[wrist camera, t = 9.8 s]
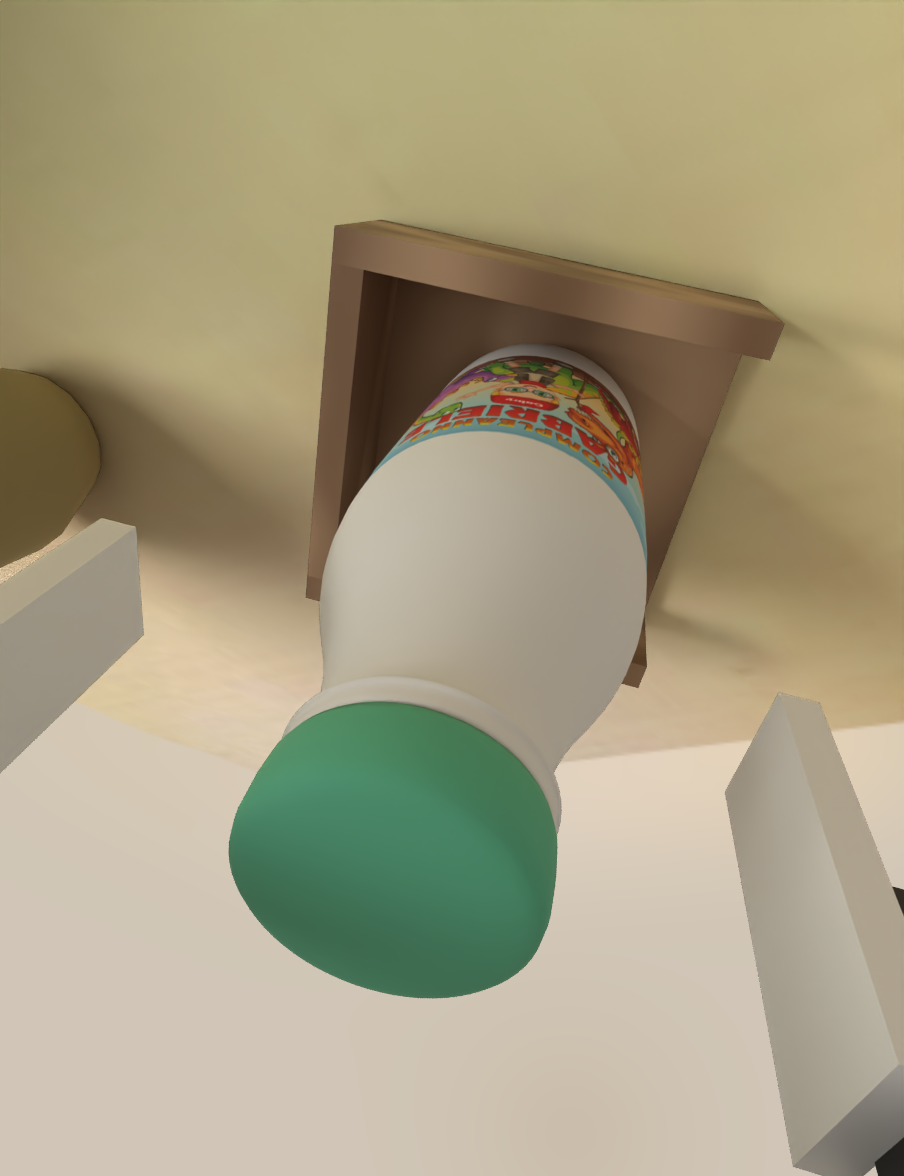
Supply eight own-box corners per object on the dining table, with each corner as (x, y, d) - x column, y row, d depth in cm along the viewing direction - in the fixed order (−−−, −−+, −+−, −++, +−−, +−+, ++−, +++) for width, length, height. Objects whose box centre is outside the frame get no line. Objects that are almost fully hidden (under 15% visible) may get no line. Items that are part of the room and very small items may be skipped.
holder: (346, 546, 31) (305, 597, 27) (381, 219, 24) (334, 225, 21) (636, 622, 30) (638, 687, 26) (758, 301, 23) (784, 323, 19)
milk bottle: (641, 534, 27) (678, 1107, 10) (448, 543, 29) (209, 1039, 12) (636, 326, 24) (681, 669, 7) (417, 352, 26) (18, 671, 9)
